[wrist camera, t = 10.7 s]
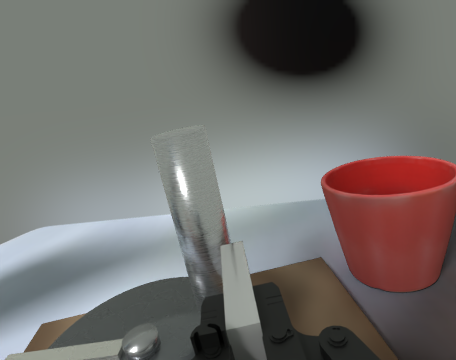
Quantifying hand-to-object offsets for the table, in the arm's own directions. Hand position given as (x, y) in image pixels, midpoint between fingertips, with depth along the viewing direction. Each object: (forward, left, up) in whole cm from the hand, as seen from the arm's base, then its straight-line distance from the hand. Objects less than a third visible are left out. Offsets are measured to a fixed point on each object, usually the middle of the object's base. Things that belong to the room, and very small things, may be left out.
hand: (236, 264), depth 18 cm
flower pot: (+15, +9, -10) cm, 20 cm away
